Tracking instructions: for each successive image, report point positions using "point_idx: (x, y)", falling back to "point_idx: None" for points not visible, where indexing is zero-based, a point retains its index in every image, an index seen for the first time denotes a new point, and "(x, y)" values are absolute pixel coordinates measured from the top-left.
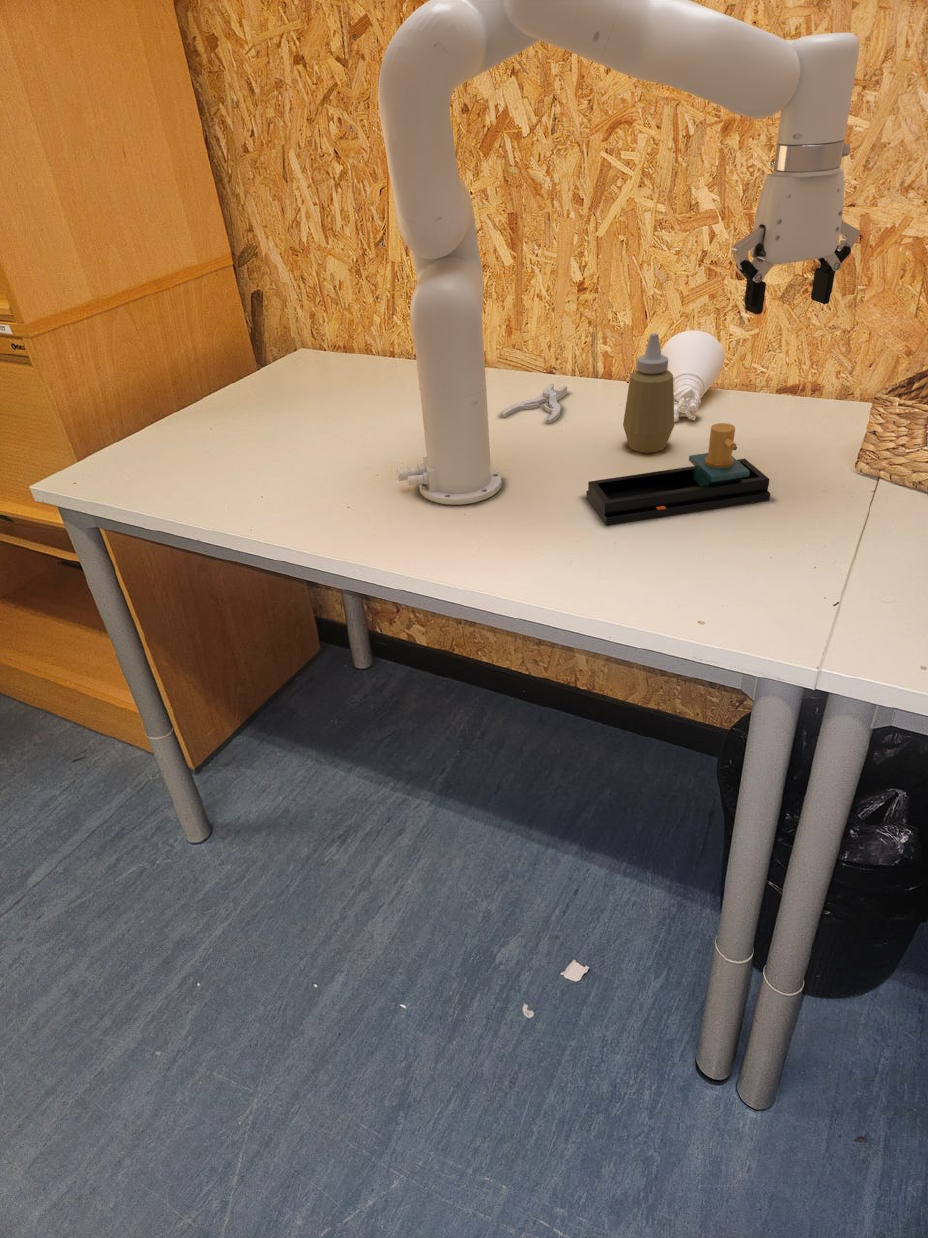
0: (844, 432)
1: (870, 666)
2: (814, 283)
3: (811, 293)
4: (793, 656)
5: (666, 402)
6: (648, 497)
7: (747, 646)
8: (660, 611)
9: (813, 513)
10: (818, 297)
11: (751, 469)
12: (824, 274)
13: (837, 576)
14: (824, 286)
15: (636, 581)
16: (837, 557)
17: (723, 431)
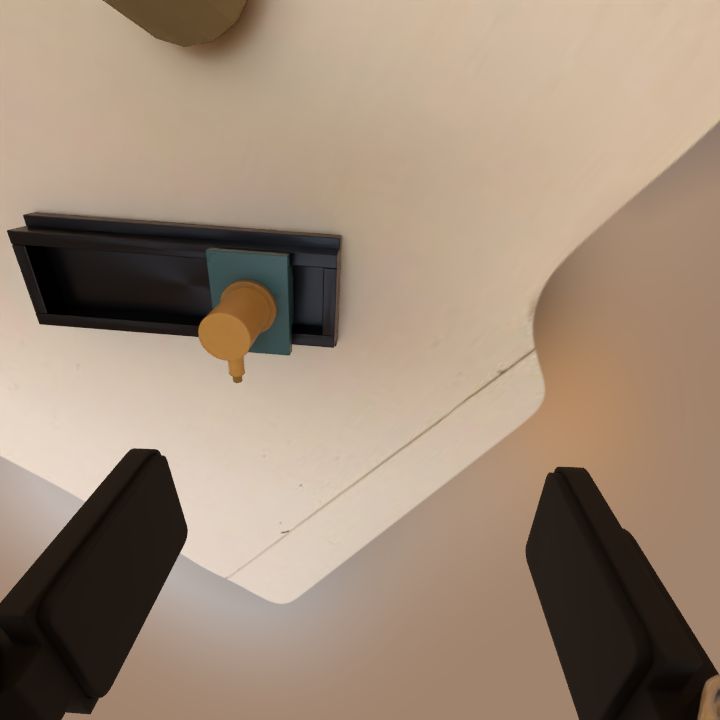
0: (695, 114)
1: (266, 586)
2: (582, 558)
3: (559, 491)
4: (214, 565)
5: (164, 8)
6: (115, 329)
7: None
8: None
9: (375, 393)
10: (540, 536)
11: (323, 304)
12: (594, 698)
13: (313, 503)
14: (556, 628)
15: (97, 445)
16: (336, 479)
17: (217, 356)
